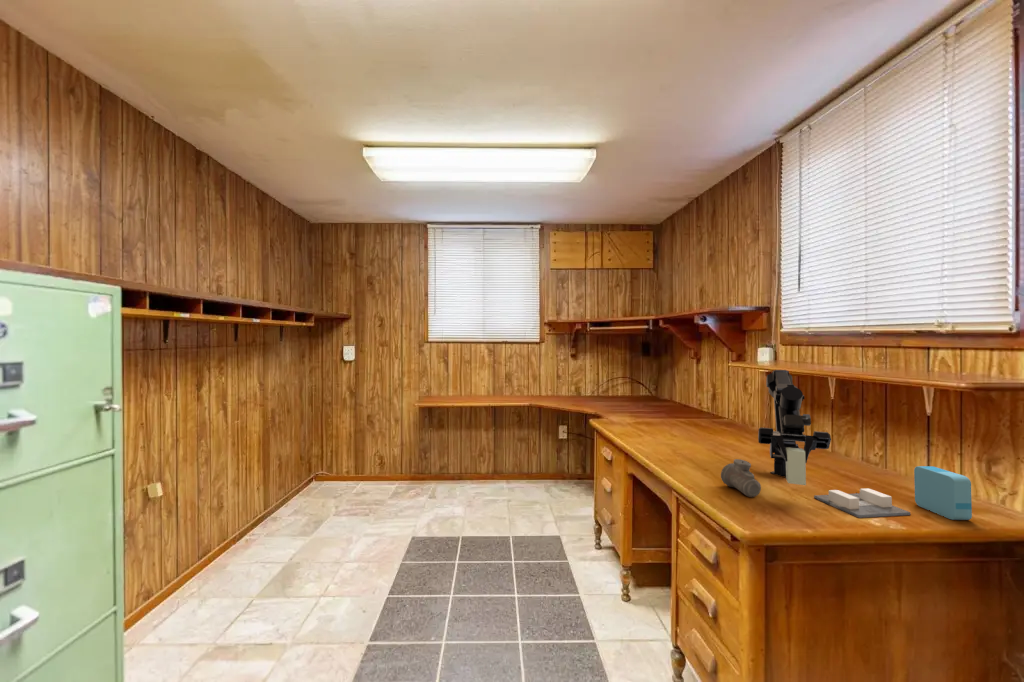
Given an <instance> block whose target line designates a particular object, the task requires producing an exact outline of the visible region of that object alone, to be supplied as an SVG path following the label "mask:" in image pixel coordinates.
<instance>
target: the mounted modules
mask: <svg viewBox="0 0 1024 682" xmlns="http://www.w3.org/2000/svg"><path fill="white" fill-rule="evenodd" d="M859 493H860V499H863V500H865V501H868V502H870V503H873V504H876V505H878V506H880V507H892V505H893V503H892V502H893V501H892V500H893V498H892V496H891V495H889V494H885V493H884V492H883V493H882V492H880V491H877V490H874V489H872V488H859ZM849 494H850V493H847V492H844V491H842V490H838V489H830V490H828V495H829V500H830V501H832V502H835V503H837V504H839V505H842V506H844V507H846V508H848V509H859V498H857V497H854V496H852V495H849Z"/></svg>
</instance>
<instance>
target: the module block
mask: <svg viewBox="0 0 1024 682" xmlns="http://www.w3.org/2000/svg"><path fill="white" fill-rule="evenodd" d="M785 449H786V453H787V461H786V478H785V480H786V482H787V483H788V484H791V485H793V484H794V485H801V486H807V472H806V471H807V469H806V467H807V466H806V464H807V463H806V460H805V451H804V448H802V447H799V448H790V447H785Z"/></svg>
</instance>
